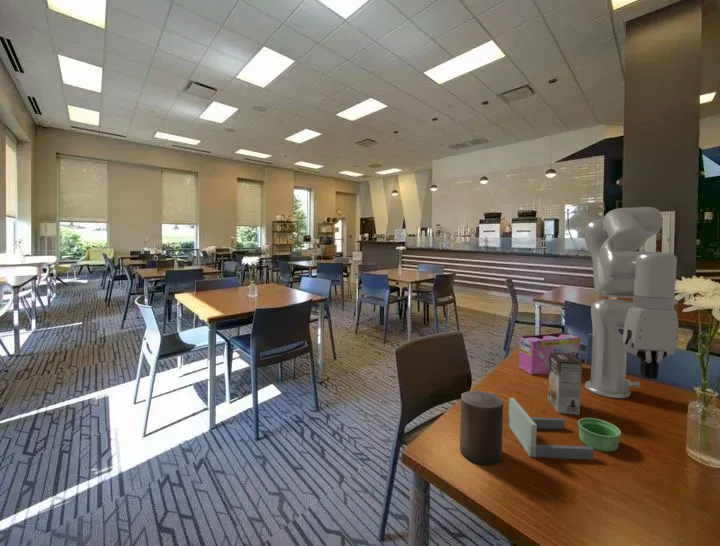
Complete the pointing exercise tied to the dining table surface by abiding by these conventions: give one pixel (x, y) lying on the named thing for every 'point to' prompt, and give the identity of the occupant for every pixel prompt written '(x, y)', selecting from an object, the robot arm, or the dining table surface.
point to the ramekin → (599, 434)
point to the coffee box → (565, 383)
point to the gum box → (545, 350)
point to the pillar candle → (481, 427)
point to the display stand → (526, 435)
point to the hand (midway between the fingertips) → (648, 376)
